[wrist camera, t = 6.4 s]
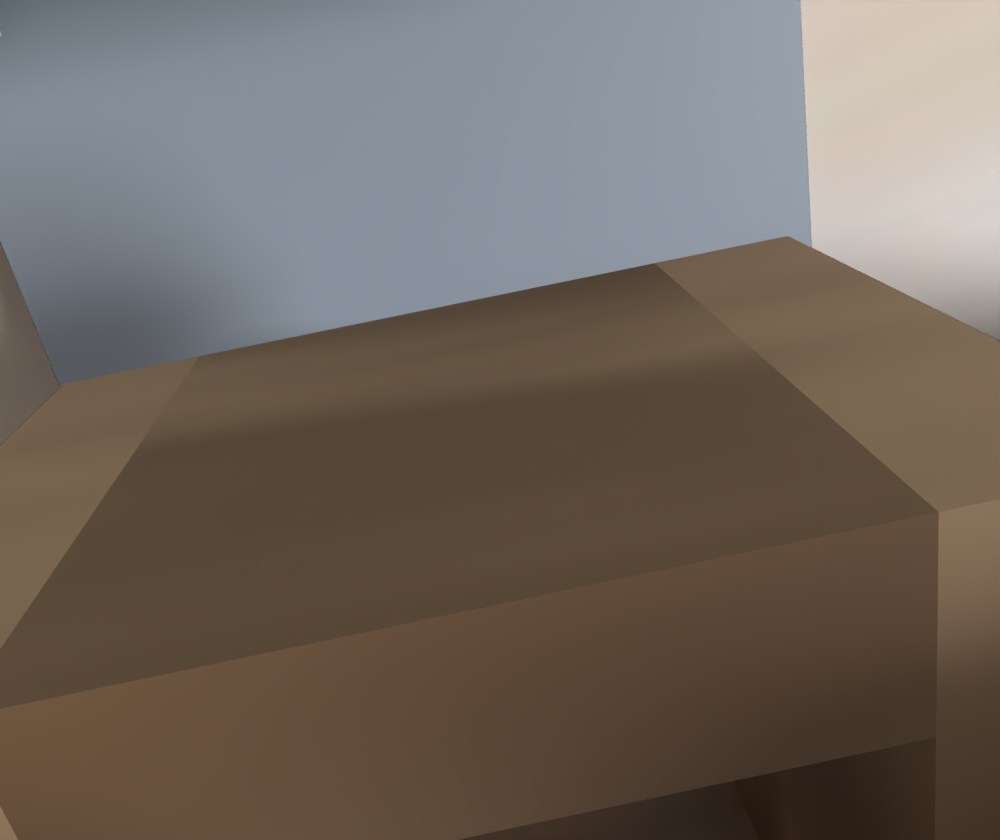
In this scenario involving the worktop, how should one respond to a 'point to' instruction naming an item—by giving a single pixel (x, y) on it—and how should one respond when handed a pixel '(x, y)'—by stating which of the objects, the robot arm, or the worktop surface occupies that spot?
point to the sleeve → (520, 573)
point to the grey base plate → (374, 157)
